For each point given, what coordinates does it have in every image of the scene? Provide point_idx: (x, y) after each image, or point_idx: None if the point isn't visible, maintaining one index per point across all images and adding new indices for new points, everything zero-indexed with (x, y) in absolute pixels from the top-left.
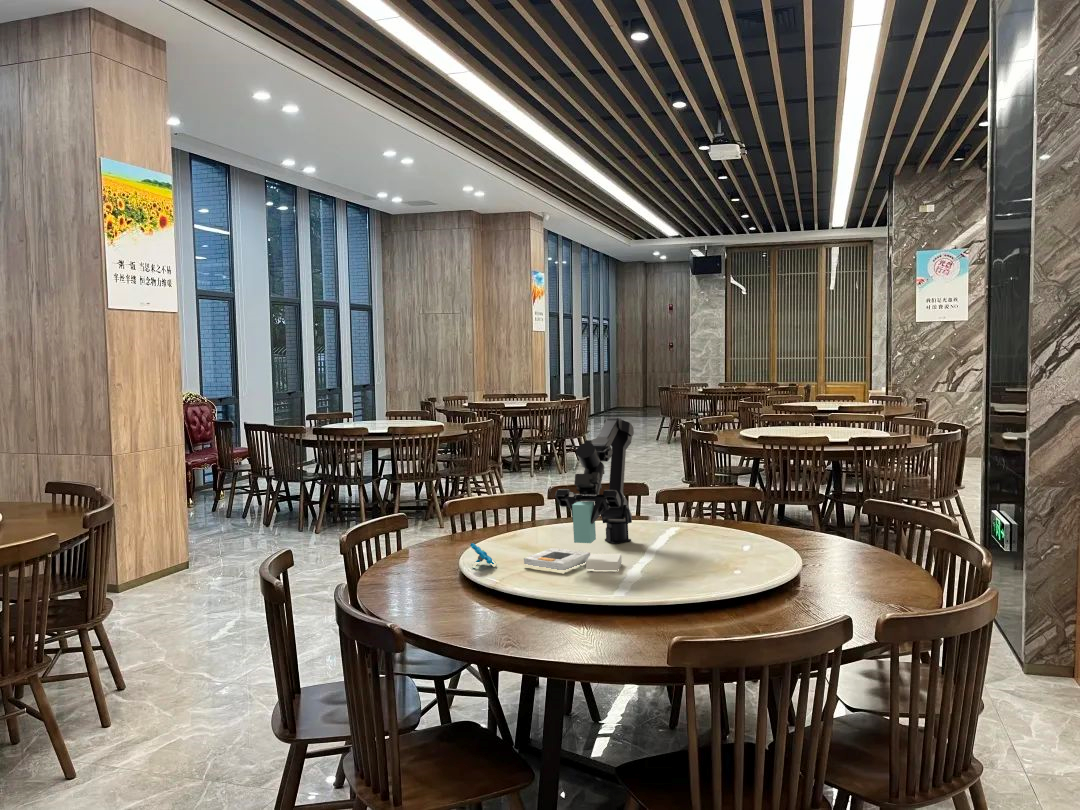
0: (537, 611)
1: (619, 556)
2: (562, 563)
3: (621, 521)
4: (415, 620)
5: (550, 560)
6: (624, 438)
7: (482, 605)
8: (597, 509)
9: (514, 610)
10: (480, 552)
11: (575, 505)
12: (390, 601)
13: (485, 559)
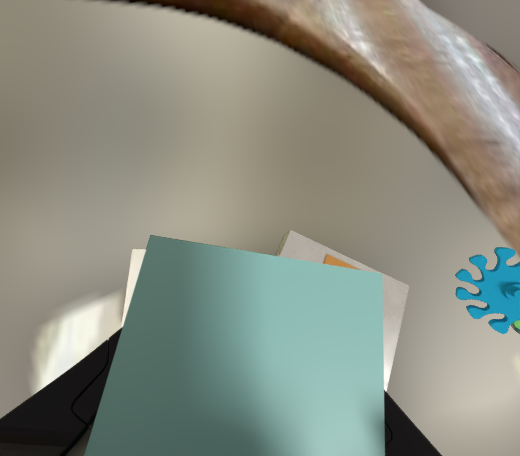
0: (277, 29)
1: (124, 317)
2: (291, 231)
3: None
4: (424, 19)
5: (330, 255)
6: None
7: (368, 61)
8: (78, 363)
9: (312, 37)
10: None
11: (336, 266)
12: (503, 90)
13: (493, 269)
